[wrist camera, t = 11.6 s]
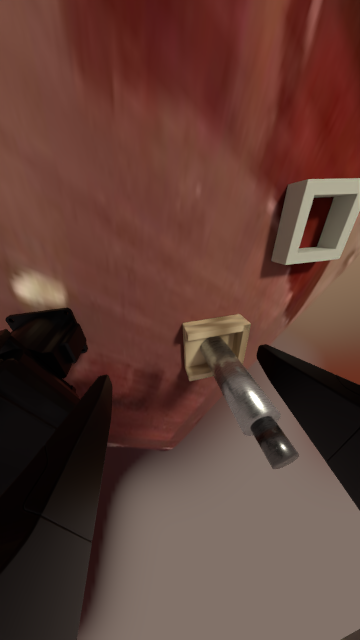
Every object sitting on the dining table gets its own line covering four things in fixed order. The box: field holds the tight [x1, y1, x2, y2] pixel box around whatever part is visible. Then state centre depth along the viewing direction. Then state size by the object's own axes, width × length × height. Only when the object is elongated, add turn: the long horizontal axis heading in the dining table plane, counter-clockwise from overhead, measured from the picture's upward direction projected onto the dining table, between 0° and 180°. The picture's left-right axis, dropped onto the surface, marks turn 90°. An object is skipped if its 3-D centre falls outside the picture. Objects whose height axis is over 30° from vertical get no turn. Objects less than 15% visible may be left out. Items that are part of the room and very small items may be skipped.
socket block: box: [271, 178, 360, 265], centre depth 20 cm, size 8×8×2 cm
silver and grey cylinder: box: [200, 336, 299, 469], centre depth 20 cm, size 4×4×15 cm
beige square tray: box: [183, 314, 251, 381], centre depth 26 cm, size 9×9×3 cm
